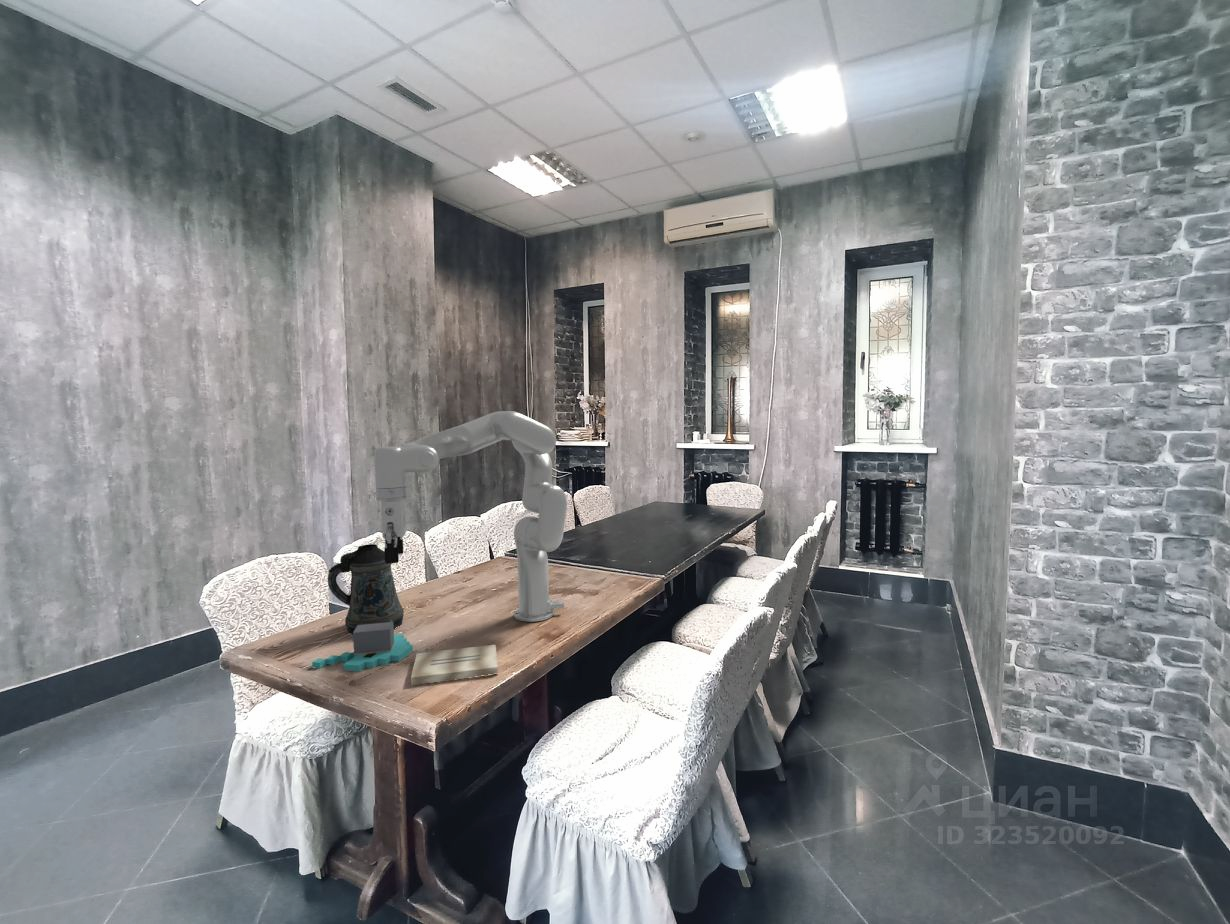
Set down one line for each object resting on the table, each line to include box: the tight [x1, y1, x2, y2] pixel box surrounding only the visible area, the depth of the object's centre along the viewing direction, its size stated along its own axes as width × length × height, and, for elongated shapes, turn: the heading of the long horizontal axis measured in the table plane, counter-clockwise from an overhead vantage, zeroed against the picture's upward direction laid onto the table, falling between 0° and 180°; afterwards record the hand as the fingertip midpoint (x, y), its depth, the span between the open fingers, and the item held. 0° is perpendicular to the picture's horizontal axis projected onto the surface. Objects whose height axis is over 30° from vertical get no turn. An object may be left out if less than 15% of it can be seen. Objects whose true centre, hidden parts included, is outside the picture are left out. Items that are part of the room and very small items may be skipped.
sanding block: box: [352, 622, 395, 655], centre depth 147 cm, size 9×6×6 cm, turn 103°
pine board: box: [410, 644, 499, 687], centre depth 138 cm, size 20×14×2 cm
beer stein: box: [327, 543, 405, 635], centre depth 166 cm, size 16×19×25 cm
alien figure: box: [311, 633, 414, 672], centre depth 148 cm, size 20×2×20 cm
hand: (394, 558), depth 144 cm, fingers open, 9 cm apart
